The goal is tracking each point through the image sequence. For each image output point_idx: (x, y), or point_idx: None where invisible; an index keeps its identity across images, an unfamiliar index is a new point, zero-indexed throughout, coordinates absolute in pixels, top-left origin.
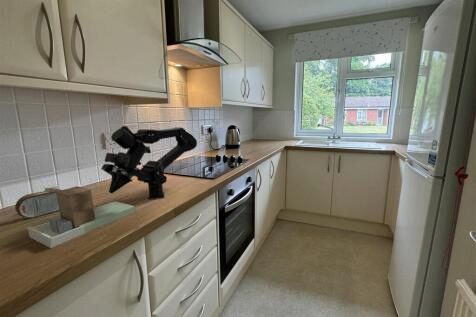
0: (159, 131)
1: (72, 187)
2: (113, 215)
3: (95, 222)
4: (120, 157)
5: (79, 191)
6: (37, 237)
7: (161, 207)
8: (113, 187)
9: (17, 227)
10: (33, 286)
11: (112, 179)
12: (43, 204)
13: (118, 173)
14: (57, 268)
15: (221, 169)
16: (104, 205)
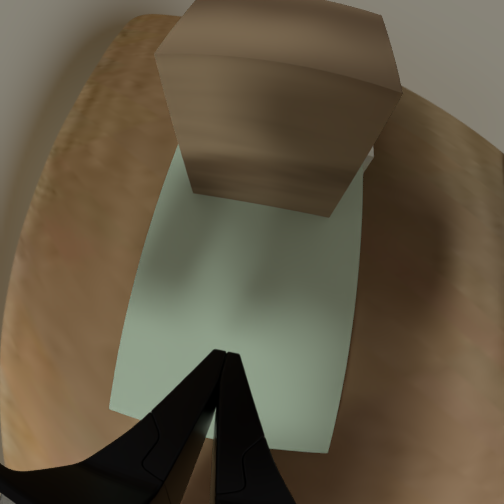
0: None
1: (395, 67)
2: (140, 267)
3: (167, 174)
4: None
5: (211, 16)
6: None
7: (45, 459)
8: (181, 383)
9: (466, 143)
10: (122, 29)
11: (257, 478)
12: None
13: (35, 493)
14: (118, 52)
15: None
16: (331, 375)
